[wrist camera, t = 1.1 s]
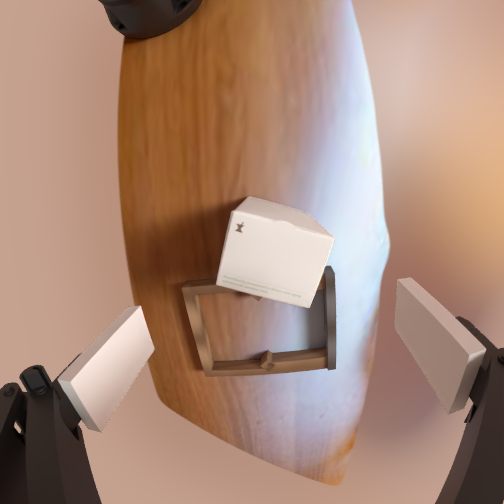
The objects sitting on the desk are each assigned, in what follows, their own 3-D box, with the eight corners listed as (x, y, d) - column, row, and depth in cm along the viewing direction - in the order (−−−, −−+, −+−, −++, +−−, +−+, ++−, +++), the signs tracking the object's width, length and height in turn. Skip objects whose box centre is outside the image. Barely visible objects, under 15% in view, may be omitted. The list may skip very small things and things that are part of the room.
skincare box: (235, 240, 37) (208, 286, 22) (248, 191, 35) (227, 205, 21) (296, 257, 37) (309, 313, 22) (311, 210, 35) (337, 237, 20)
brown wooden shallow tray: (186, 281, 39) (180, 289, 37) (330, 265, 37) (334, 273, 34) (208, 367, 43) (204, 378, 41) (332, 357, 41) (335, 368, 38)
